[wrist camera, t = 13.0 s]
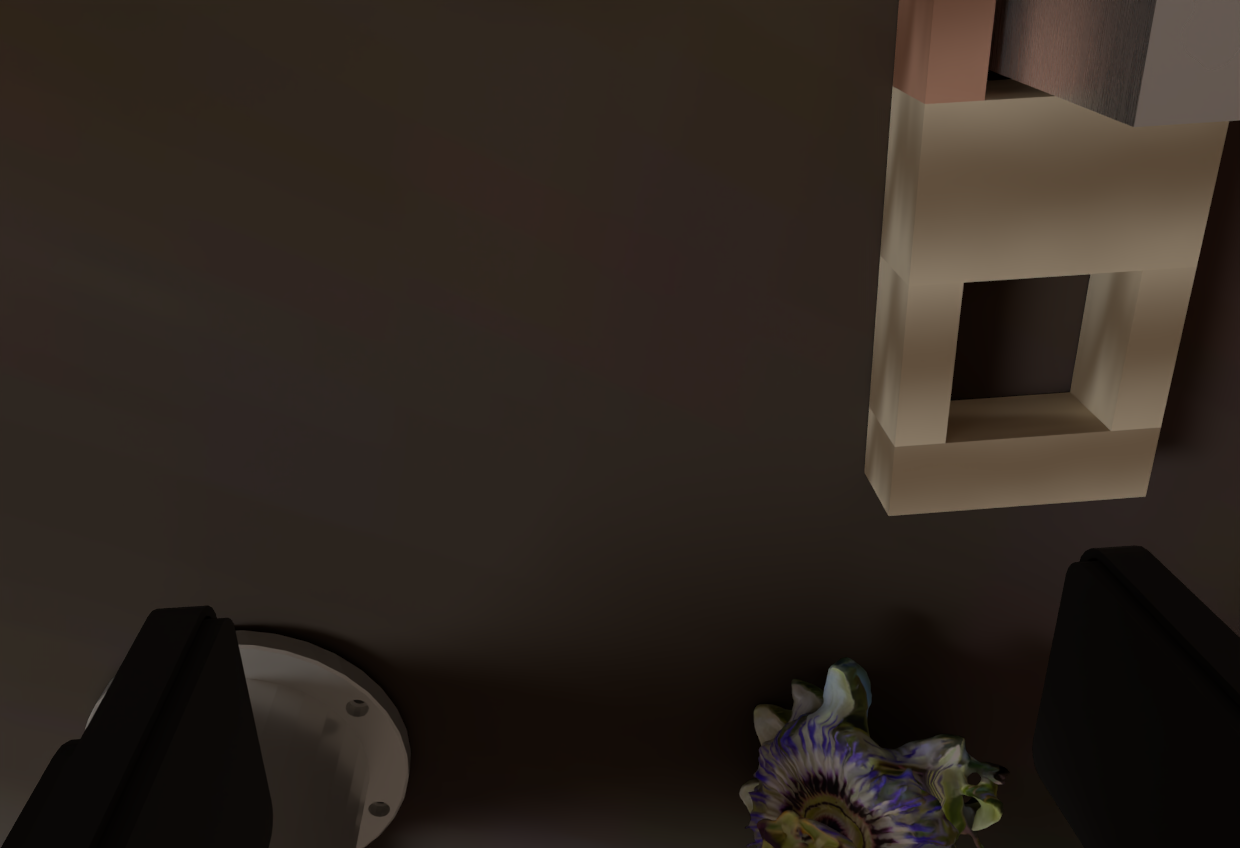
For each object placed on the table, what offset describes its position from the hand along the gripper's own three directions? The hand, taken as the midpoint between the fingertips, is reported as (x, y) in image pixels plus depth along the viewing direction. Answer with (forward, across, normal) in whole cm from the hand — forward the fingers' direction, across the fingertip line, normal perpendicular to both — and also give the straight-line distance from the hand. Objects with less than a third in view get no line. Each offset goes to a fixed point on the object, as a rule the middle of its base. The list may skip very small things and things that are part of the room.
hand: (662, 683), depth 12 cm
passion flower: (+24, -12, +23) cm, 35 cm away
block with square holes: (+23, -15, -1) cm, 27 cm away
